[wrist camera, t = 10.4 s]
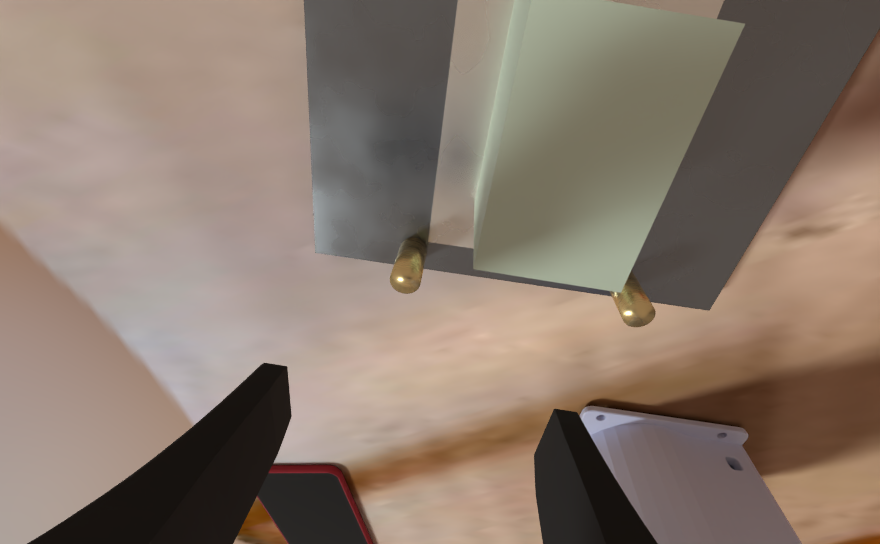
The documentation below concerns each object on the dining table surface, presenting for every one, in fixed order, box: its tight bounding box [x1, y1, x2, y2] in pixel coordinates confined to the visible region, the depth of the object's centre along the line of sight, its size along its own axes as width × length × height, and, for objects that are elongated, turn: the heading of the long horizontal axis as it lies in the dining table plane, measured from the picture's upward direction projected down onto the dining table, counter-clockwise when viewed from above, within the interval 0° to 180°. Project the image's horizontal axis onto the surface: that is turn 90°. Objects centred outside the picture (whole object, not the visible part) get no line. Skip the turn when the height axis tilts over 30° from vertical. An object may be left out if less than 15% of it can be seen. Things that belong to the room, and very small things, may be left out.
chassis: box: [304, 0, 880, 327], centre depth 14 cm, size 18×14×4 cm
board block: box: [473, 0, 745, 293], centre depth 13 cm, size 4×7×5 cm, turn 172°
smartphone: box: [257, 465, 373, 544], centre depth 33 cm, size 7×1×15 cm
